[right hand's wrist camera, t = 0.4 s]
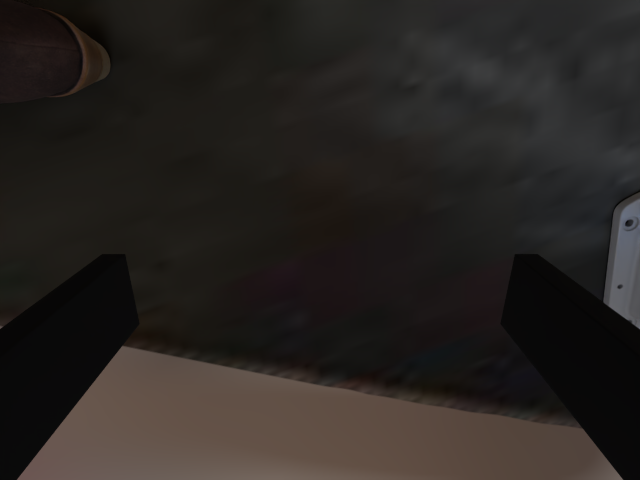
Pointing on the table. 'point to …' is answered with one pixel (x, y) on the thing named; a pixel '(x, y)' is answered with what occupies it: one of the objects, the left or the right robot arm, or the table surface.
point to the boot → (45, 55)
